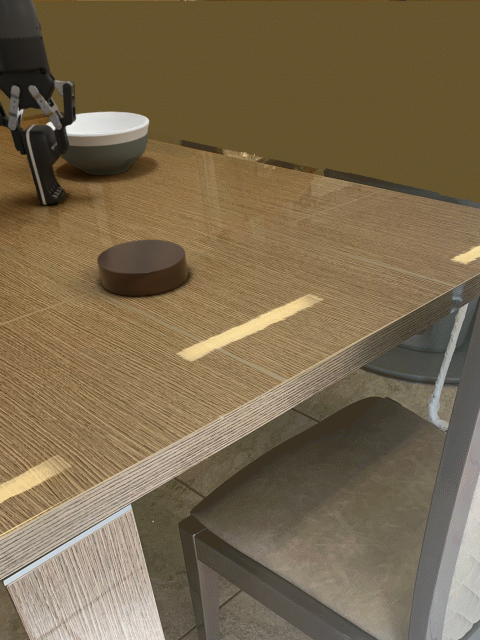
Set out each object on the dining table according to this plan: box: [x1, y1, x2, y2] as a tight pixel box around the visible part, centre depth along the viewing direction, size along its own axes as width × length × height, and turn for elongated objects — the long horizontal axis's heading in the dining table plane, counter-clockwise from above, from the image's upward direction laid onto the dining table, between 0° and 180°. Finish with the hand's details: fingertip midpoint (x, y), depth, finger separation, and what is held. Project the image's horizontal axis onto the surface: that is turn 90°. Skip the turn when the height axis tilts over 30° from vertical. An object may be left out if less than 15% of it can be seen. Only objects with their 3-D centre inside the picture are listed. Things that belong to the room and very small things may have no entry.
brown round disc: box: [96, 239, 189, 297], centre depth 83 cm, size 11×11×3 cm
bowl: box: [45, 111, 150, 176], centre depth 121 cm, size 19×19×8 cm
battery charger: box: [23, 124, 66, 206], centre depth 105 cm, size 7×4×11 cm, turn 6°
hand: (44, 152), depth 104 cm, fingers open, 5 cm apart
